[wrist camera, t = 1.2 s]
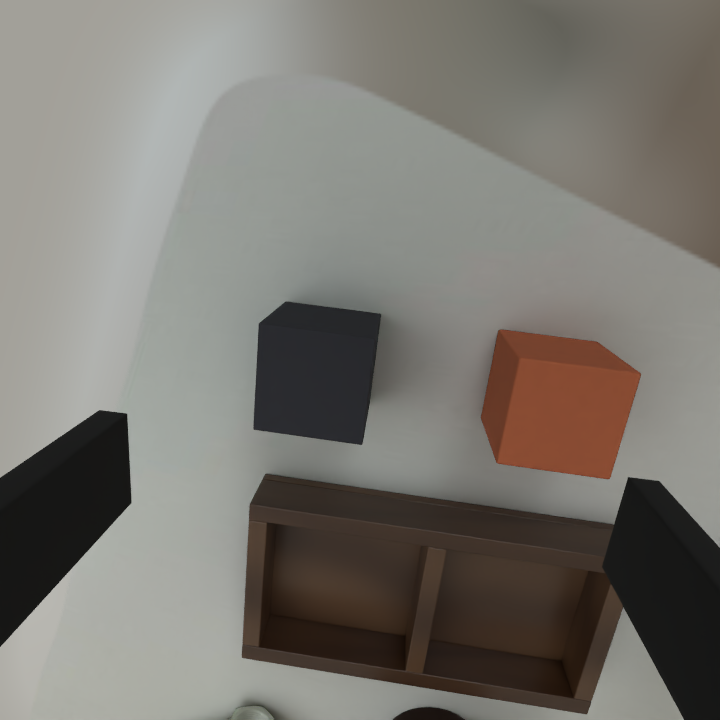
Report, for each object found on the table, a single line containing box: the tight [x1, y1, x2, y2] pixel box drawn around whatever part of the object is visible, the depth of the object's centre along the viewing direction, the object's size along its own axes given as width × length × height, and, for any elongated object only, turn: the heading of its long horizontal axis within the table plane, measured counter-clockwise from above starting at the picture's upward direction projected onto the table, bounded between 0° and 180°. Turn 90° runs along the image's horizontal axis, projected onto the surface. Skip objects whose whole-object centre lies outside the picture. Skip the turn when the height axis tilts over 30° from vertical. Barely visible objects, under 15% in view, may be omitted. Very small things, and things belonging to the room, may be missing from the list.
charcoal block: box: [254, 302, 381, 445], centre depth 24 cm, size 5×5×5 cm
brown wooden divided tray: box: [242, 474, 623, 714], centre depth 29 cm, size 10×20×3 cm, turn 84°
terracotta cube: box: [481, 330, 641, 479], centre depth 24 cm, size 5×5×5 cm
